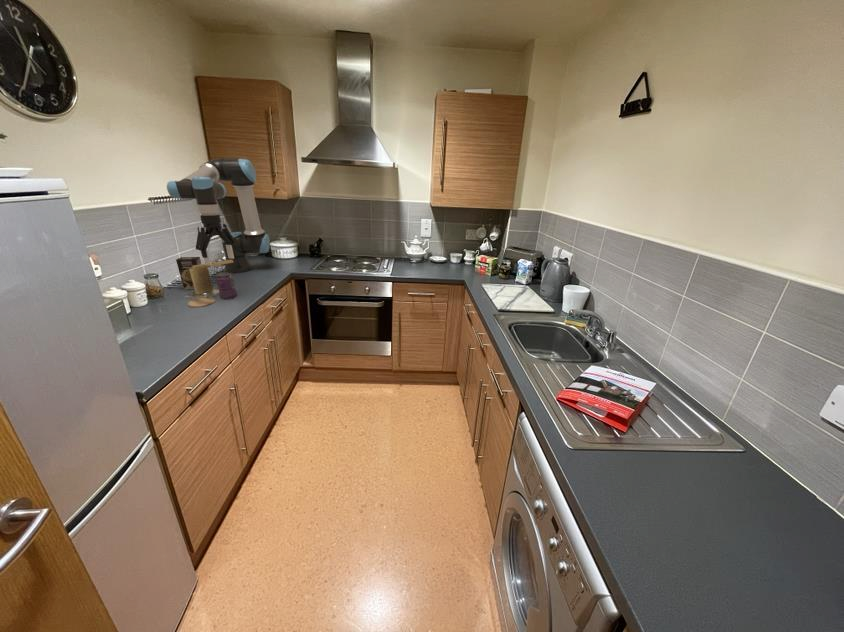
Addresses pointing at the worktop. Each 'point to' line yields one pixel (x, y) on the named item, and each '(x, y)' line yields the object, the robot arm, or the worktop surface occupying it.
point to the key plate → (203, 294)
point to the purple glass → (226, 285)
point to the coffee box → (187, 270)
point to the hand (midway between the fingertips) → (220, 261)
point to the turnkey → (203, 276)
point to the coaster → (201, 302)
